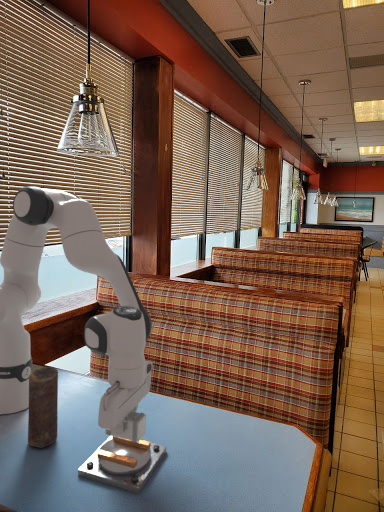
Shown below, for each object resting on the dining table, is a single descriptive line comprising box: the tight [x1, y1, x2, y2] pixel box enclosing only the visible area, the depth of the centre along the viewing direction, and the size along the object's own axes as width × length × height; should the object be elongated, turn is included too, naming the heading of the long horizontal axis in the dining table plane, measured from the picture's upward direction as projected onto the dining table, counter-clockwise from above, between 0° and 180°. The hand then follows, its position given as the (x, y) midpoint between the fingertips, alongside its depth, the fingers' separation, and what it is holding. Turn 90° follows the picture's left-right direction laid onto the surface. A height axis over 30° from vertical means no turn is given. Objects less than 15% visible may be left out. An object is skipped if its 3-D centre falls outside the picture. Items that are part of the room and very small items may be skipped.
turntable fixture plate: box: [77, 435, 167, 495], centre depth 95 cm, size 16×16×4 cm
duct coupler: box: [104, 411, 147, 442], centre depth 94 cm, size 4×9×5 cm, turn 71°
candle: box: [27, 366, 59, 449], centre depth 101 cm, size 8×7×20 cm
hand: (125, 426), depth 94 cm, fingers closed on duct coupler, 4 cm apart
